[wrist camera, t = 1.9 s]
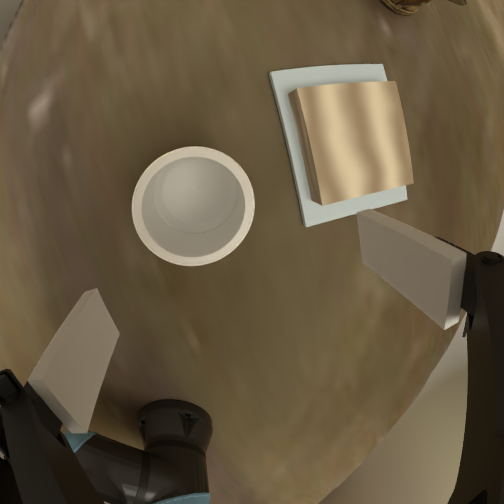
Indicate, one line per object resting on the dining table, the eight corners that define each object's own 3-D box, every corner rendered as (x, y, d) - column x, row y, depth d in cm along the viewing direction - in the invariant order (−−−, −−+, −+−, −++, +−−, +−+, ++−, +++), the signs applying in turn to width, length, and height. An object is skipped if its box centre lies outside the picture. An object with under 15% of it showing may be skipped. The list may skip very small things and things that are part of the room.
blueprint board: (303, 225, 42) (306, 227, 41) (268, 74, 34) (270, 71, 33) (403, 198, 43) (407, 199, 42) (378, 65, 36) (382, 64, 34)
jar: (176, 237, 40) (163, 284, 26) (145, 169, 36) (112, 179, 22) (248, 207, 40) (273, 238, 26) (220, 136, 36) (229, 126, 22)
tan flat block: (311, 200, 40) (322, 206, 36) (287, 94, 35) (296, 88, 31) (398, 179, 41) (413, 183, 37) (380, 85, 36) (395, 81, 32)
